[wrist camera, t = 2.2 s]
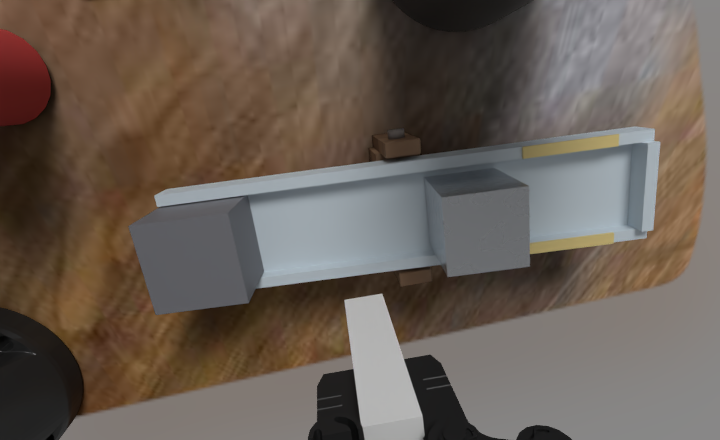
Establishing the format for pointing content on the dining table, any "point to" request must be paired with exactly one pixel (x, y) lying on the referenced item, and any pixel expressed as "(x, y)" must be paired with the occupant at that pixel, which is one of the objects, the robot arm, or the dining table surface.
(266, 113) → the dining table surface
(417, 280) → the fulcrum
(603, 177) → the beam
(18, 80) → the beer can
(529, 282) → the dining table surface
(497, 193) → the block
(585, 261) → the dining table surface
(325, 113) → the dining table surface
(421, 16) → the vase
